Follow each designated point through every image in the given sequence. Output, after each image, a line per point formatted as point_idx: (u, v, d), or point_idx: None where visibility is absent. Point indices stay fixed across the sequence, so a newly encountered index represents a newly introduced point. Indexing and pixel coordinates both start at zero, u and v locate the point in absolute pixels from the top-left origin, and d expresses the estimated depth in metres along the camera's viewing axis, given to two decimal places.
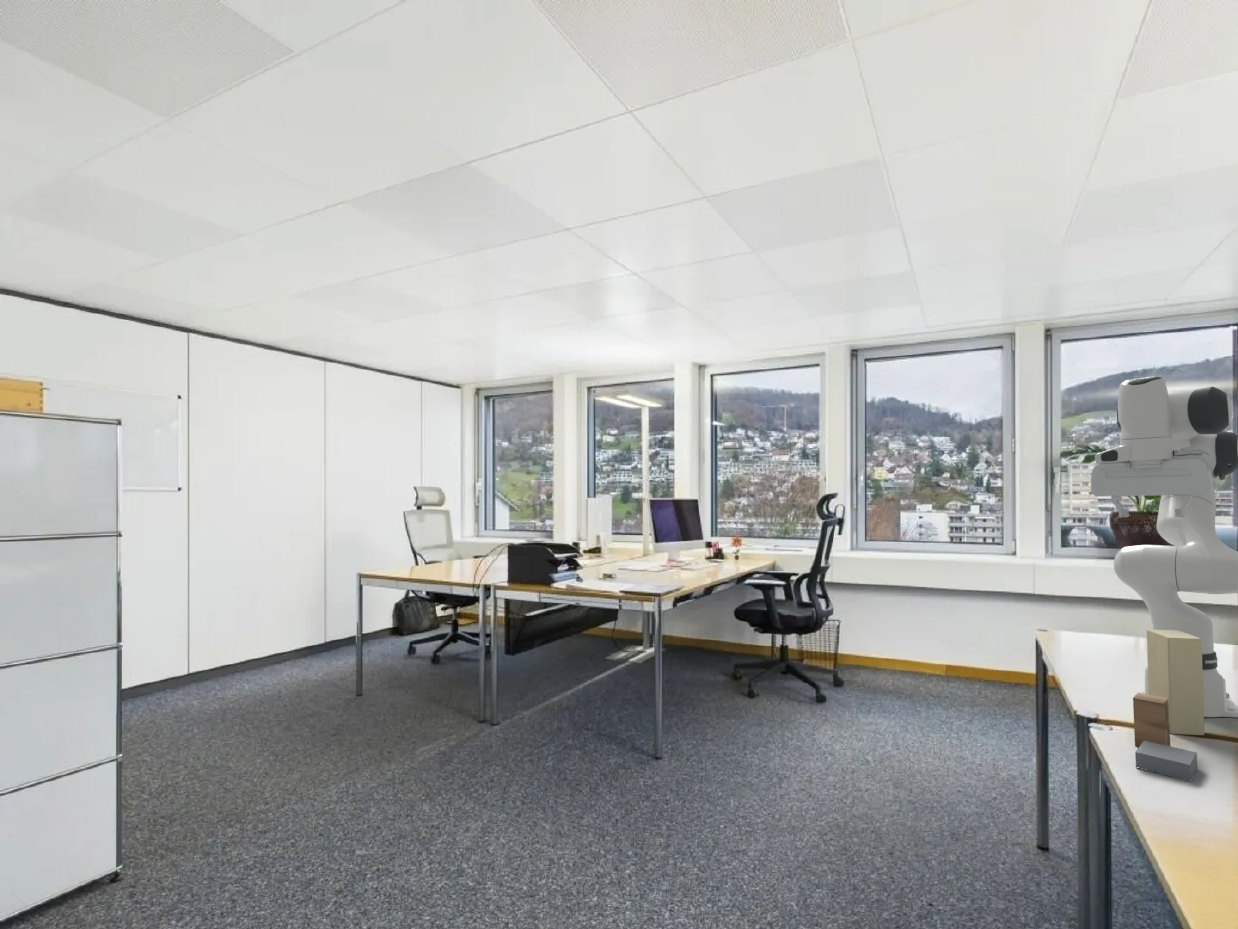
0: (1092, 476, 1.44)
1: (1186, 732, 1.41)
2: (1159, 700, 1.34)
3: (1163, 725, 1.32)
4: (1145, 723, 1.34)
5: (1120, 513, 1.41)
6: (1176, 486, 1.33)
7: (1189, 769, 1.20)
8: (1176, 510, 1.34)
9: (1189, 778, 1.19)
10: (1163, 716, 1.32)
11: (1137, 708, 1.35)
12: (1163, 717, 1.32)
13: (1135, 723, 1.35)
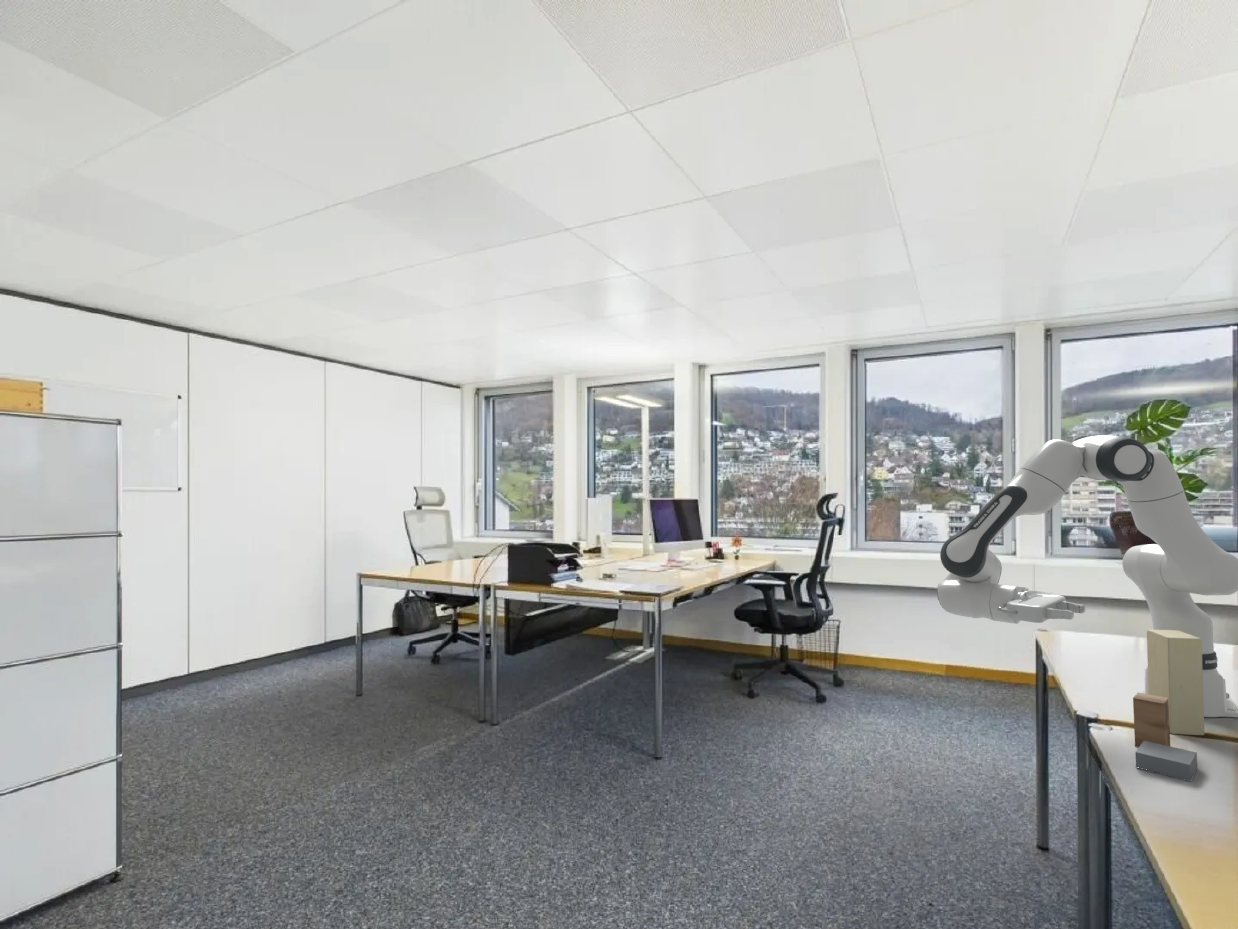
0: None
1: (1186, 732, 1.41)
2: (1159, 700, 1.34)
3: (1163, 725, 1.32)
4: (1145, 723, 1.34)
5: None
6: None
7: (1189, 769, 1.20)
8: None
9: (1189, 778, 1.19)
10: (1163, 716, 1.32)
11: (1138, 708, 1.35)
12: (1163, 717, 1.32)
13: (1135, 723, 1.35)
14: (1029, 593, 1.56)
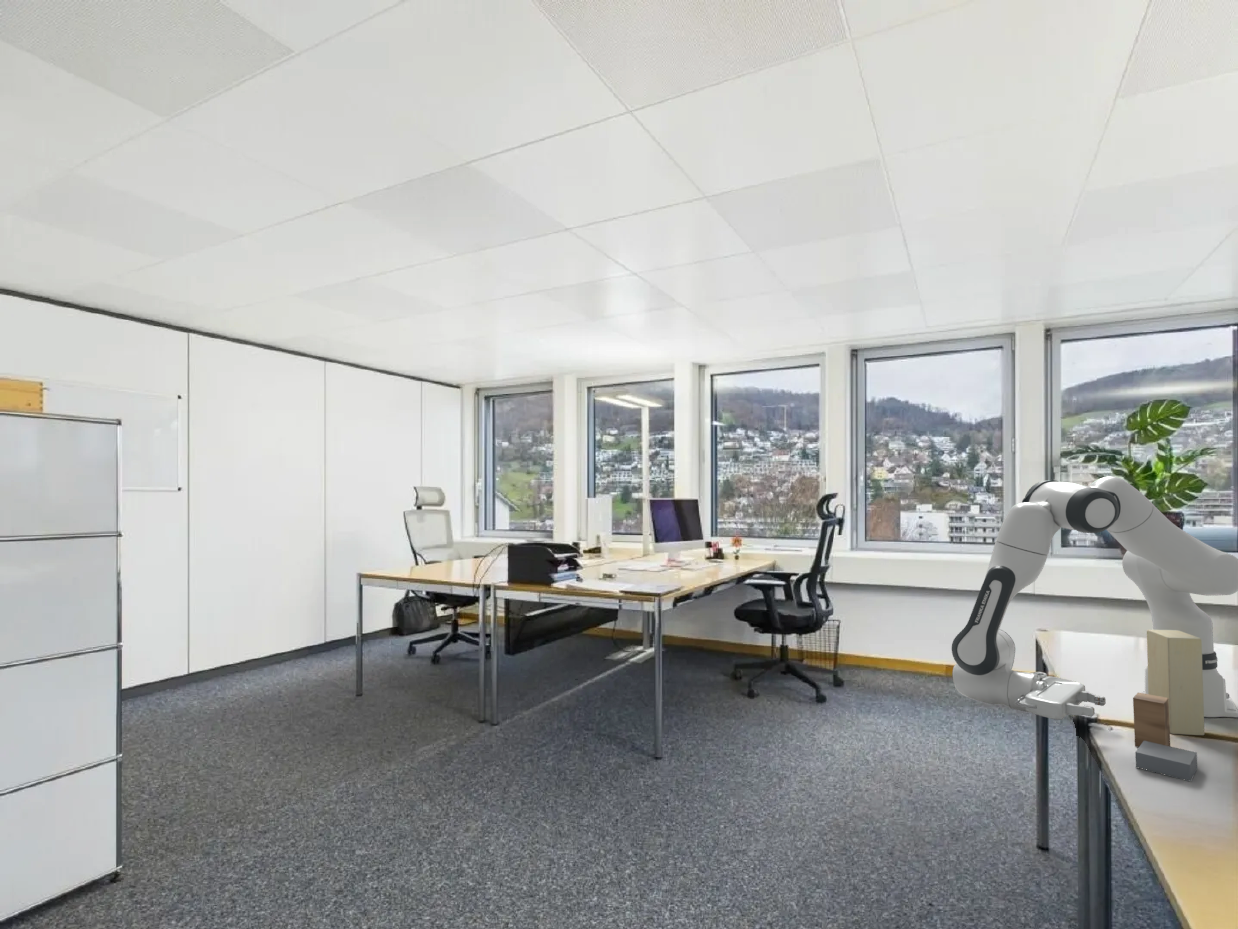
0: None
1: (1186, 732, 1.41)
2: (1159, 700, 1.34)
3: (1163, 725, 1.32)
4: (1145, 723, 1.34)
5: None
6: None
7: (1189, 769, 1.20)
8: None
9: (1189, 778, 1.19)
10: (1163, 716, 1.32)
11: (1138, 708, 1.35)
12: (1163, 717, 1.32)
13: (1135, 723, 1.35)
14: (1047, 681, 1.53)
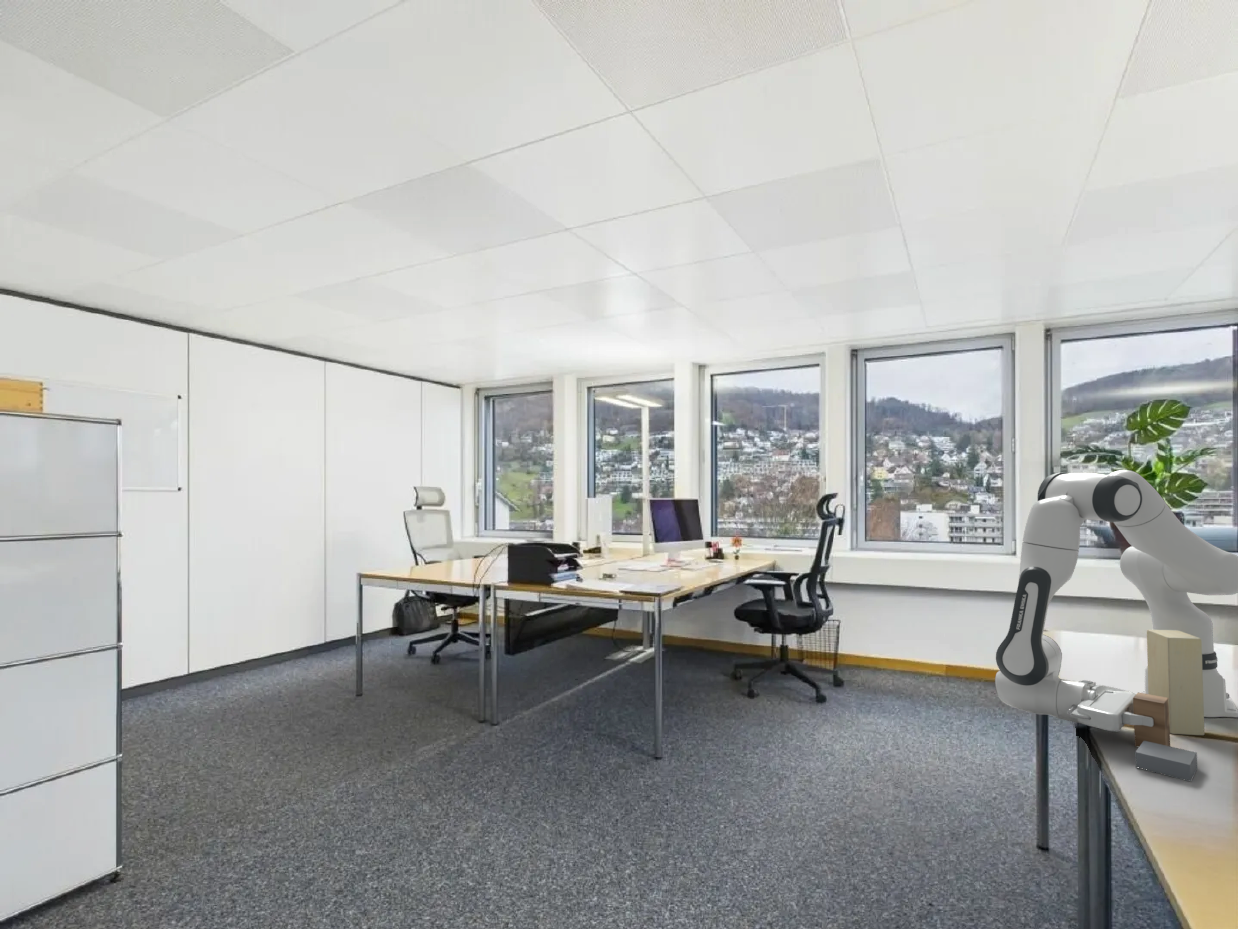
0: None
1: (1186, 732, 1.41)
2: (1159, 700, 1.34)
3: (1163, 725, 1.32)
4: None
5: None
6: None
7: (1189, 769, 1.20)
8: None
9: (1189, 778, 1.19)
10: (1163, 716, 1.32)
11: (1138, 707, 1.35)
12: (1163, 717, 1.32)
13: None
14: (1098, 690, 1.46)
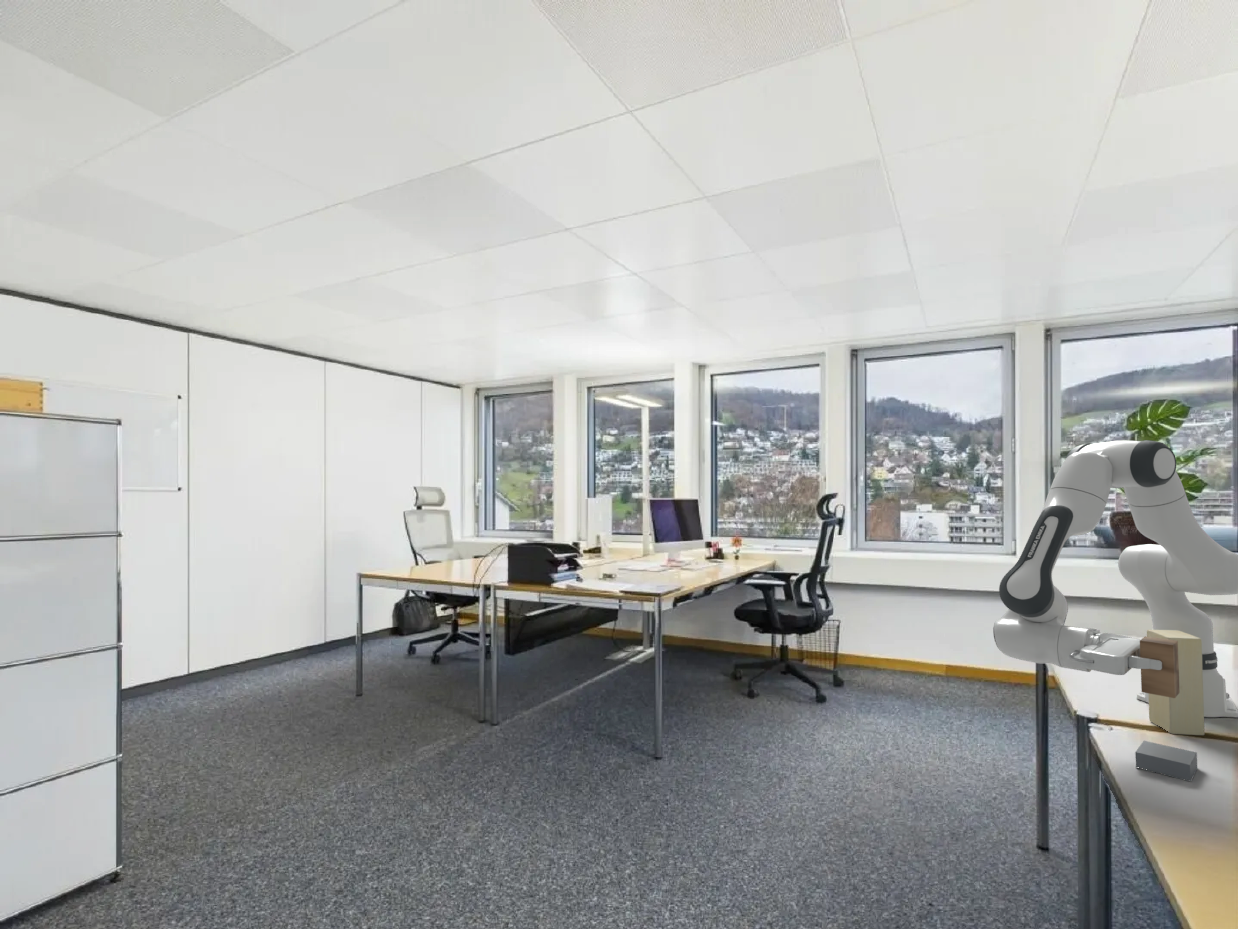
0: None
1: (1186, 732, 1.41)
2: (1168, 642, 1.25)
3: (1172, 668, 1.23)
4: None
5: None
6: None
7: (1189, 769, 1.20)
8: None
9: (1189, 778, 1.19)
10: (1172, 658, 1.23)
11: (1145, 651, 1.26)
12: (1172, 659, 1.23)
13: None
14: (1102, 636, 1.37)
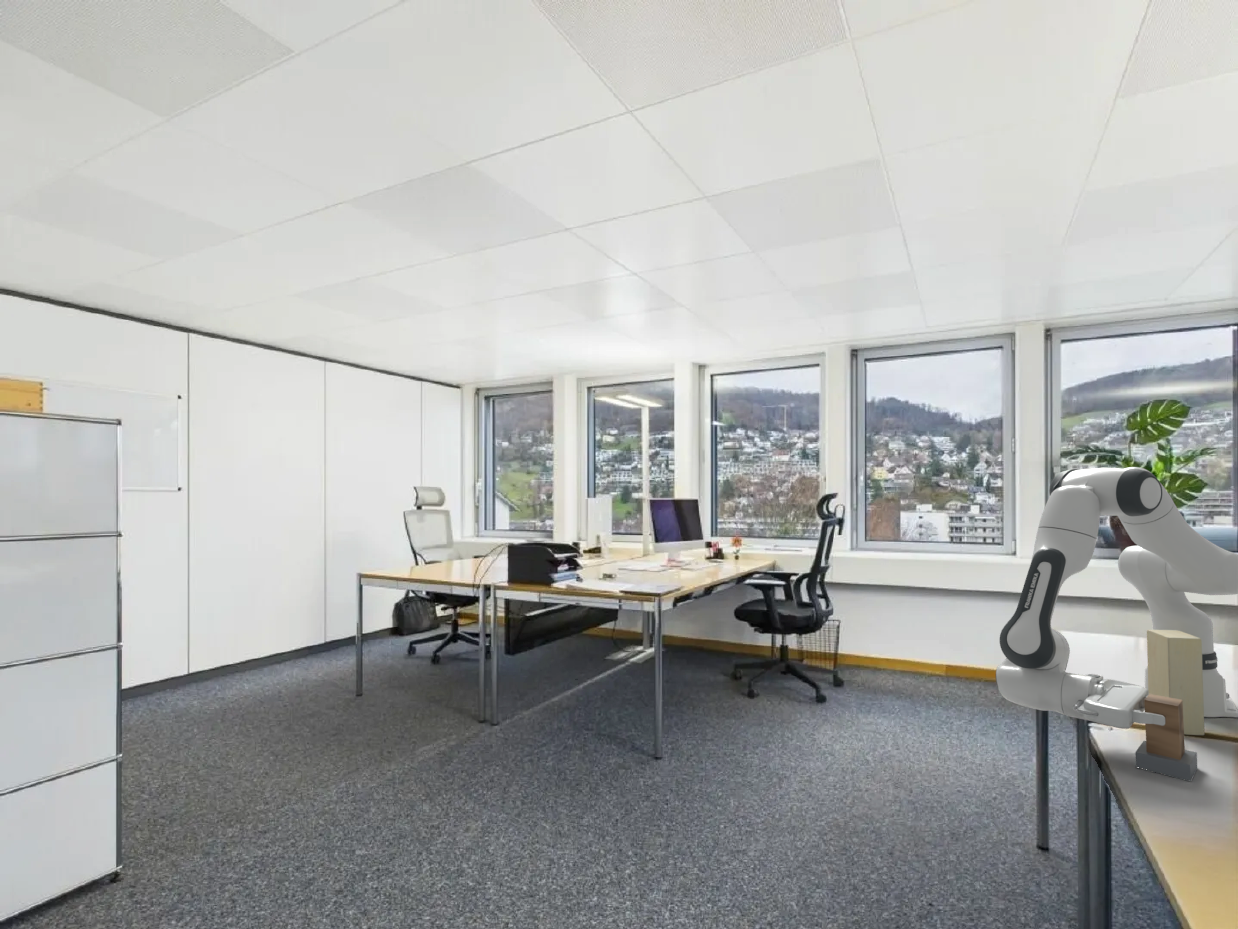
0: None
1: (1186, 732, 1.41)
2: (1173, 702, 1.24)
3: (1177, 729, 1.22)
4: (1157, 727, 1.24)
5: None
6: None
7: (1189, 769, 1.20)
8: None
9: (1189, 778, 1.19)
10: (1177, 719, 1.22)
11: (1149, 710, 1.25)
12: (1177, 721, 1.22)
13: (1147, 727, 1.25)
14: (1106, 684, 1.36)
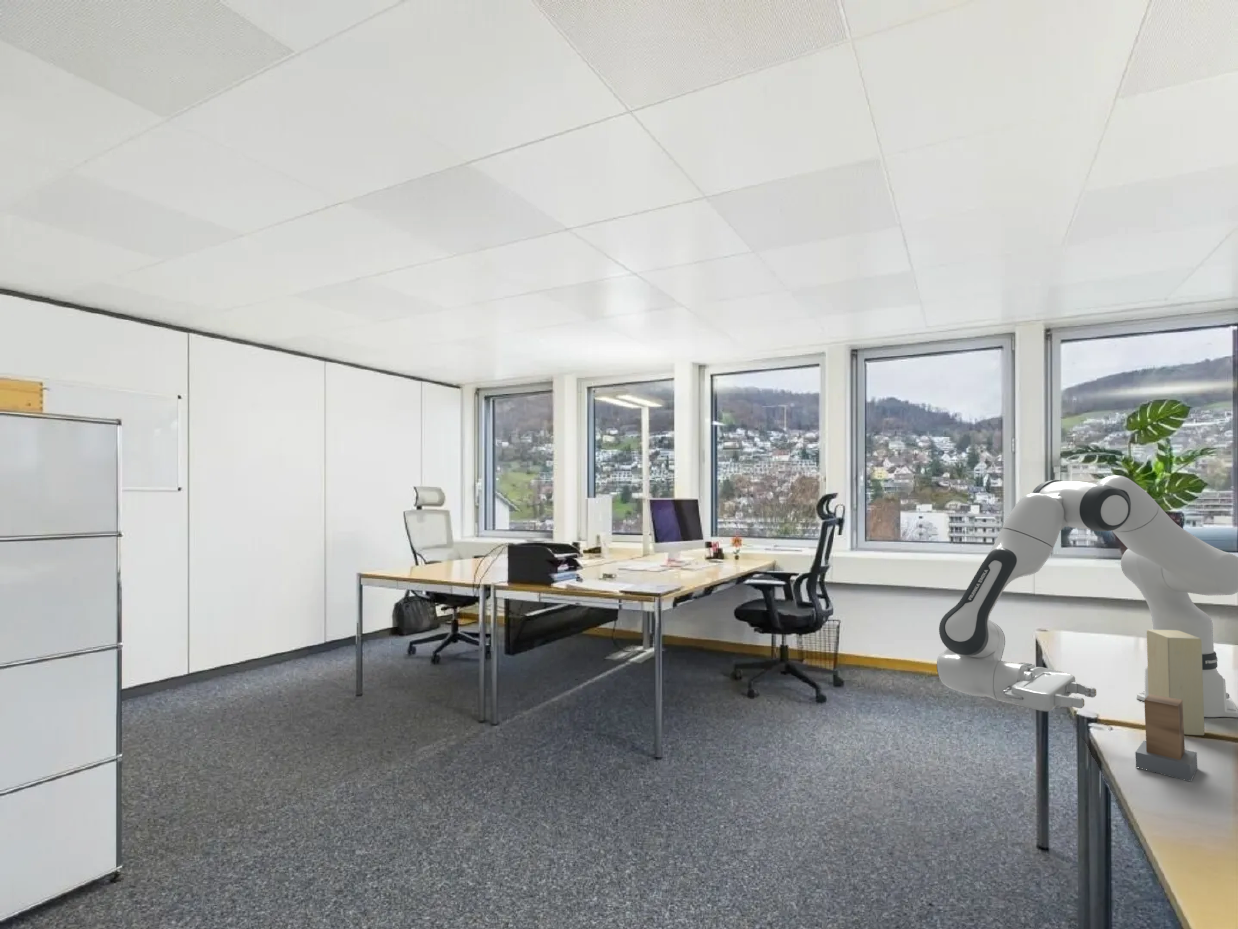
0: None
1: (1186, 732, 1.41)
2: (1173, 702, 1.24)
3: (1177, 729, 1.22)
4: (1157, 727, 1.24)
5: None
6: None
7: (1189, 769, 1.20)
8: None
9: (1189, 778, 1.19)
10: (1177, 719, 1.22)
11: (1149, 710, 1.25)
12: (1177, 721, 1.22)
13: (1147, 727, 1.25)
14: (1036, 671, 1.45)
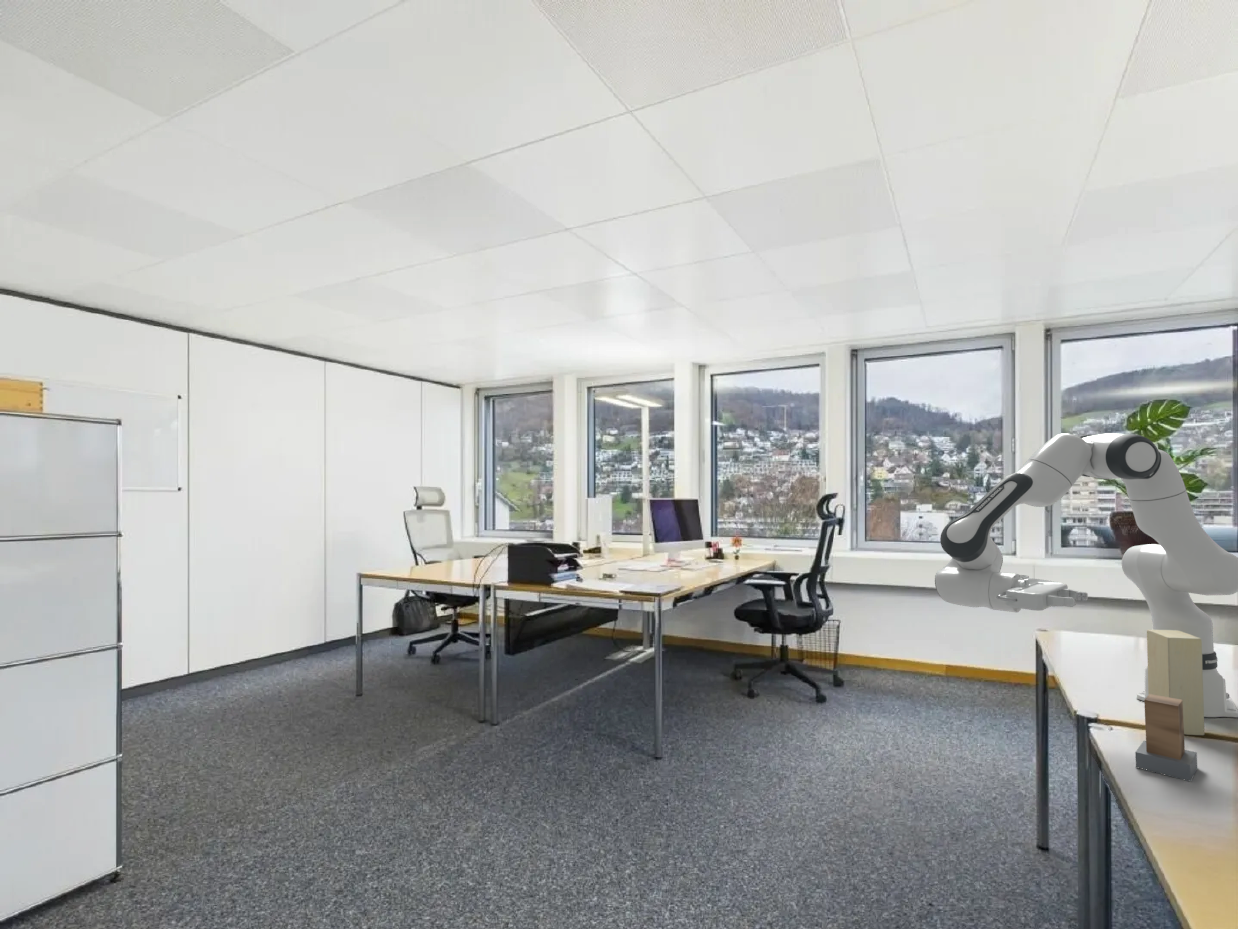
0: None
1: (1186, 732, 1.41)
2: (1173, 702, 1.24)
3: (1177, 729, 1.22)
4: (1157, 727, 1.24)
5: None
6: None
7: (1189, 769, 1.20)
8: None
9: (1189, 778, 1.19)
10: (1177, 719, 1.22)
11: (1149, 710, 1.25)
12: (1177, 721, 1.22)
13: (1147, 727, 1.25)
14: (1029, 581, 1.50)
